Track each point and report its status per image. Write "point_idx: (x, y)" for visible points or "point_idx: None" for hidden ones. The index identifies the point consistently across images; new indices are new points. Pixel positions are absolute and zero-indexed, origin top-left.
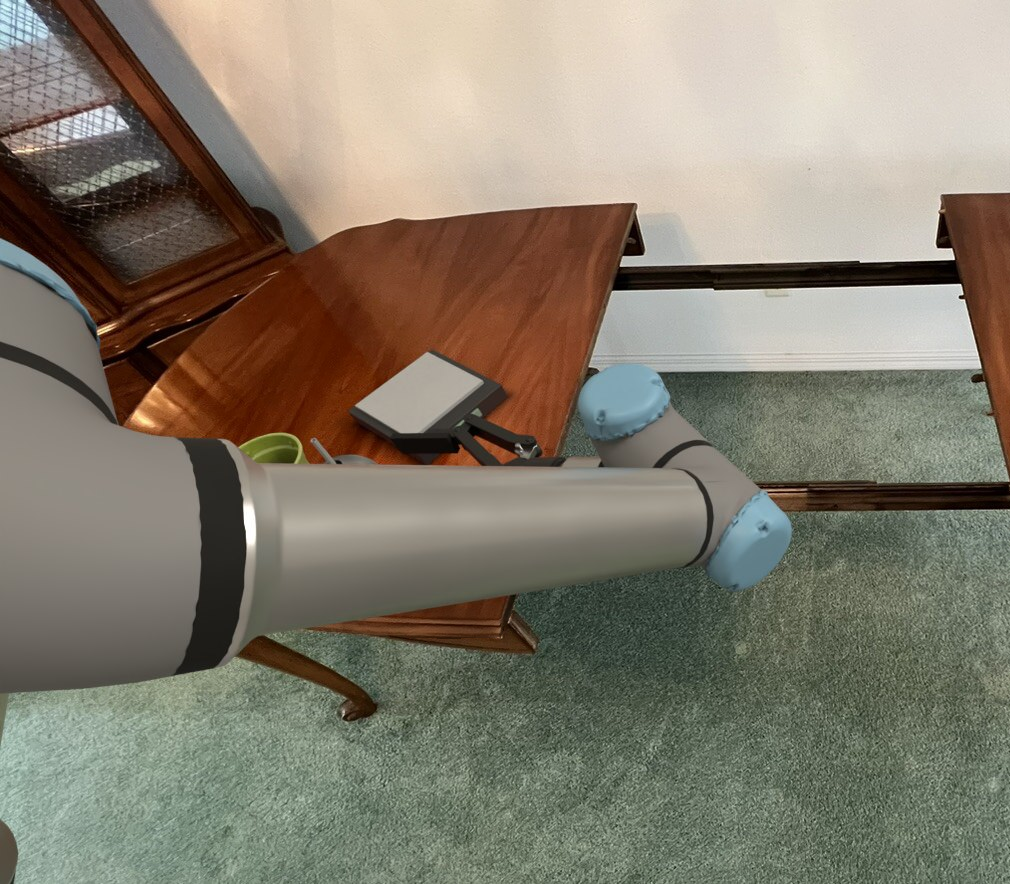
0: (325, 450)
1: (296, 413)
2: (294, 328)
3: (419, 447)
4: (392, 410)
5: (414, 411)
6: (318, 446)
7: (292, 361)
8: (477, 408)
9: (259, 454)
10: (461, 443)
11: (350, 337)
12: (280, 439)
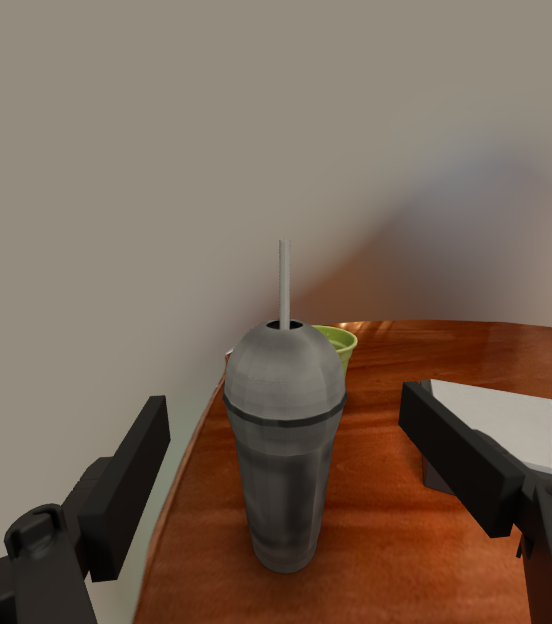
0: (287, 276)
1: (394, 363)
2: (454, 337)
3: (427, 438)
4: (456, 406)
5: (478, 426)
6: (282, 256)
7: (430, 345)
8: None
9: (332, 342)
10: (529, 533)
11: (484, 359)
12: (350, 340)
